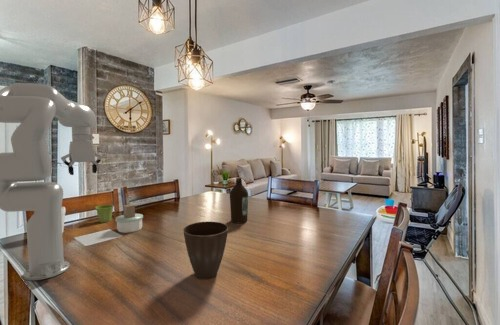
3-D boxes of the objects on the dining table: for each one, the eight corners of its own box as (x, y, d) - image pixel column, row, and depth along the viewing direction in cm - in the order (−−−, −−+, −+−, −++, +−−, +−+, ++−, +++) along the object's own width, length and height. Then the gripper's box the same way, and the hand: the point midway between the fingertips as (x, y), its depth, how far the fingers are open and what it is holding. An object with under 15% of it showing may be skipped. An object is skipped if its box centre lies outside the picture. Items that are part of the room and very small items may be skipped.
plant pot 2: (229, 263, 96) (229, 221, 95) (227, 284, 81) (226, 235, 80) (189, 263, 96) (188, 221, 94) (179, 285, 81) (178, 236, 80)
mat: (123, 237, 124) (123, 236, 124) (85, 247, 111) (85, 246, 111) (109, 230, 134) (109, 229, 134) (73, 238, 122) (73, 237, 122)
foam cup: (53, 238, 122) (52, 211, 121) (38, 237, 124) (36, 210, 123) (71, 232, 132) (70, 207, 131) (56, 230, 133) (54, 206, 132)
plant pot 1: (117, 219, 154) (117, 204, 154) (107, 223, 145) (107, 208, 144) (103, 218, 155) (102, 204, 155) (92, 223, 146) (91, 208, 145)
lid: (147, 218, 134) (147, 205, 134) (122, 224, 124) (121, 209, 124) (136, 214, 143) (135, 201, 142) (111, 219, 133) (110, 205, 132)
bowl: (145, 229, 135) (145, 218, 134) (124, 235, 126) (123, 223, 126) (135, 225, 142) (135, 214, 141) (114, 230, 133) (114, 219, 133)
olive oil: (226, 222, 146) (226, 178, 145) (235, 217, 156) (234, 176, 154) (243, 224, 142) (243, 179, 141) (251, 219, 152) (250, 177, 150)
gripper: (98, 139, 133) (99, 171, 135) (57, 138, 120) (59, 174, 121) (104, 138, 128) (105, 172, 130) (62, 138, 115) (64, 176, 117)
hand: (83, 173), depth 126 cm, fingers open, 9 cm apart
